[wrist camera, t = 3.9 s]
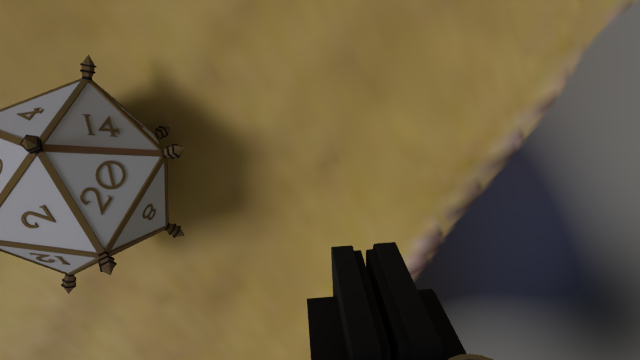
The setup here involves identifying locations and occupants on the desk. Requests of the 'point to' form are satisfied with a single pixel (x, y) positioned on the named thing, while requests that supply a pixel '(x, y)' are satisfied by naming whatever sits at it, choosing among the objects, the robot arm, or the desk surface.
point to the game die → (80, 179)
